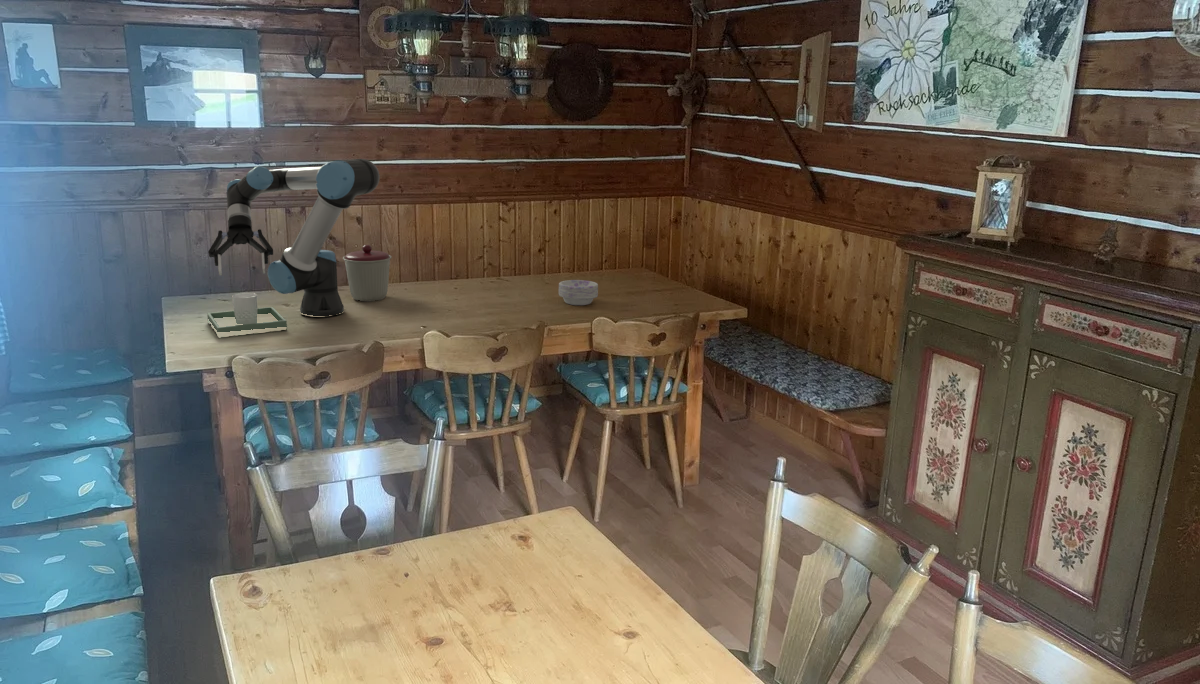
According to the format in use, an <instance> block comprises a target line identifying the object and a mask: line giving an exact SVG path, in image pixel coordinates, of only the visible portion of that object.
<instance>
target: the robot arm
mask: <svg viewBox="0 0 1200 684" xmlns="http://www.w3.org/2000/svg"><path fill="white" fill-rule="evenodd" d="M380 178H381V177H380V171H379V169H378V167H377V166H376V164H374V163H373V162H371V161H370V160H368V159H365V158H357V159H347V160H333V161H329V162H326V163H324V164H323V165H322V166H310V167H291V168H290V167H283V168H278V169H268V168H267V167H264V166H262V165H257V166H255V167H253V168H252V169H251V170H249V171H248V172H247V173H246V174H245V175H244V176H243V177H242V178H239V179H238V178H237V179H234V180H230V181H229V182H228V183H227V185H226V186H227V187H226V191H225V192H226V194H225V195H226V205H227V206H226V207H227V226H228V227H227V229H228V230H227V232H226V231H225V232H224V231H222V230H218V232H217V237H216V239H215V240H214V242H213V243H212V245H211V246H210V248H209V249H208V257H209V258H214V259H213V260H214V265H215V266H216V267H217V269H218V270H217V271H218V276H223V275H222V274H223V272H222V269H223V268H222V255H223V254H225V253H226V252H227V250H229V249H230V247H233V246H234V245H238V246H239V245H247V244H248V245H249V246H251V247H253V248H254V249H255V250H257V252H258V253H260V254H261V264H262V265H261V266H262V267H261V268H262V274H266V264H267V265H268V264H269V256H273V255H274V248H273V247H272V246H271V244H270V243H269V242H268V240H267V239H266V237H265V236H264V234H263V232H262V231H263V230H262V229H260V228H259V229H257V230H256V231H253V224H252V223H253V222H252V221H253V220H252V209H251V208H252V204H251V203H252V202H253V201H254V200H256V199H257V198H258V197H259V196H260V195H261V194H266V193H274V192H282V191H283V192H284V191H296V190H297V191H298V190H299V191H300V190H303V191H304V190H316V193H317V199H316V200H315V202H314V204H313V206H312V208H311V210H310V212H309V214H308V215H307V217H306V219H305V221H304V223H303V225H302V226H301V229H300V231H299V233H298V235H297V236H296V239H295V240H294V242H293V244H292V246H291V247H287V248H286V249H284V251H283V252H282V254H281V257H280V258H279V259H278V260H274V261H272V262H270V264H269V265H268V267H267V277H268V281H269V283H270V285H271V287H272V288H273V289H274V290H275V291H276V292H278V293H279V294H283V295H288V294H294V293H297V292H300V291H303V296H302V300H301V304H300V308H299V309H300V310H299V312H301V313H303V314H307V315H313V316H329V315H336V314H339V313H342V312H343V311H344V312H345V307H344V304H343V302H342V299H341V296H340V293H339V290H338V289H339V288H338V269H337V263H338V262H337V257H336V253H335V252H334V251H332V250H330V249H329V250H328V249H322V248H323V246H324V244H325V243H326V241H327V238H328V237H329V236H330V233H331V232H332V230H333V228H334V226H335V224H336V222H337V221H338V218H339V217H340V215H341V213H342V211H343V210H345V209H346V210H347V209H348V208H350V207H351V205H352V203H353V202H354V200H355V198H356V197H357V196H362V195H367V194H369V193H372V192H373V191H374V190H376V188H377V187H378V185H379V183H380ZM254 236H255V237H256V238H257V239H258V240H259V241H260V243H261V244H262V245H261V244H260V243H259V242H258V241H257V240H255V239H254ZM226 238H227V239H226ZM225 239H226V241H225V242H223V240H225ZM222 242H223V244H222ZM342 314H343V313H342Z"/></svg>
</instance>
